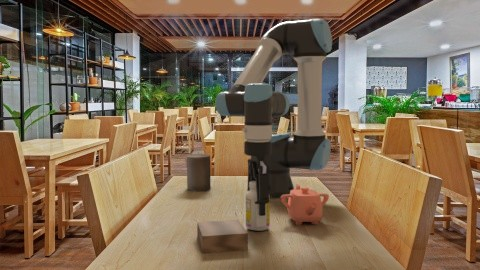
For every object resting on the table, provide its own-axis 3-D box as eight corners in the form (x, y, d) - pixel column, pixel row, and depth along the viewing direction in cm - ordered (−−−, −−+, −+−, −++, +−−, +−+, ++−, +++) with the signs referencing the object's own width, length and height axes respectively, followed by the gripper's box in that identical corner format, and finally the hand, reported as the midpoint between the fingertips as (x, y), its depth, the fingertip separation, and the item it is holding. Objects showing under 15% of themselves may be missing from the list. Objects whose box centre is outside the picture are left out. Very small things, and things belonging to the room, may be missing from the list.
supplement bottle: (272, 225, 112) (273, 181, 111) (264, 232, 106) (264, 185, 105) (251, 222, 115) (251, 179, 114) (241, 229, 109) (241, 183, 108)
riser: (238, 234, 106) (238, 219, 106) (248, 249, 96) (248, 233, 95) (197, 237, 104) (197, 222, 104) (202, 252, 93) (202, 236, 93)
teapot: (335, 221, 118) (336, 188, 117) (313, 231, 109) (314, 195, 109) (296, 212, 128) (297, 181, 127) (273, 220, 119) (273, 187, 118)
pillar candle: (215, 188, 163) (215, 151, 162) (200, 192, 155) (200, 154, 154) (196, 185, 168) (196, 150, 167) (181, 189, 160) (181, 152, 159)
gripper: (237, 137, 117) (237, 213, 119) (253, 144, 98) (253, 235, 100) (261, 136, 119) (261, 211, 121) (282, 144, 100) (281, 232, 102)
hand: (257, 222), depth 111 cm, fingers closed on supplement bottle, 7 cm apart
